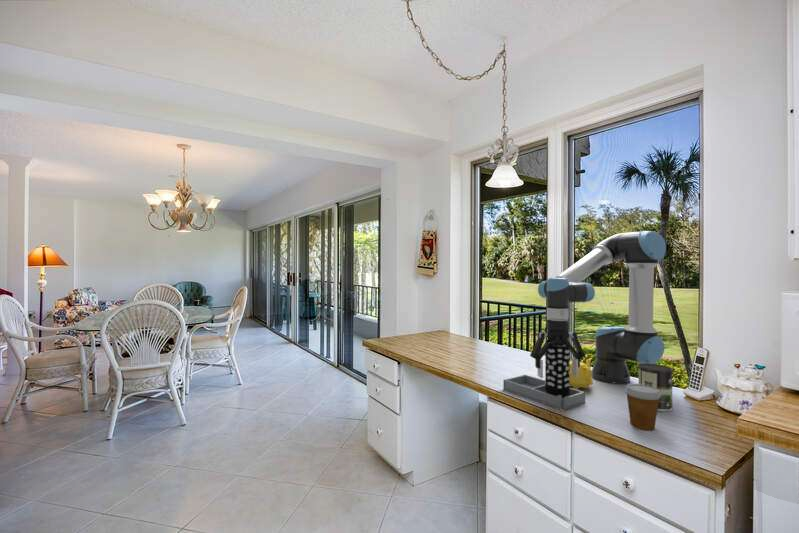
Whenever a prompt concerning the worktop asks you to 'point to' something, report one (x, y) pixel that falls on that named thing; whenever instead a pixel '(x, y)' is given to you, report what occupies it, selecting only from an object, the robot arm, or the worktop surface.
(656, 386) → the coffee can
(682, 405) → the worktop surface
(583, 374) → the teapot
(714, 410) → the worktop surface
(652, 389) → the disposable coffee cup
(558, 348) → the white-spotted black cylinder
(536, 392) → the gray divided tray
